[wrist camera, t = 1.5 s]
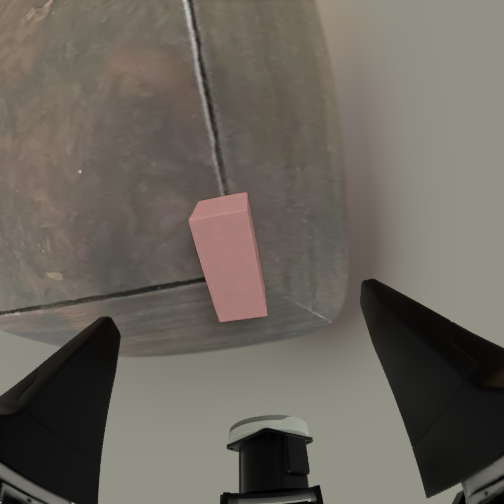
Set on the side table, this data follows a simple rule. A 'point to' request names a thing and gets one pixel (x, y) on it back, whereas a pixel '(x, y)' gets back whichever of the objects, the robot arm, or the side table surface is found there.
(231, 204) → the eraser
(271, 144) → the side table surface
